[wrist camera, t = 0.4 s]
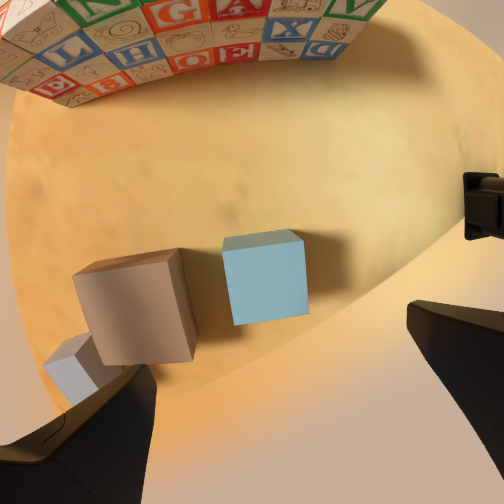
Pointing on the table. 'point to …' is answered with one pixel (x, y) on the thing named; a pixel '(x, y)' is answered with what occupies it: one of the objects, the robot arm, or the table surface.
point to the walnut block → (138, 309)
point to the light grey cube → (79, 368)
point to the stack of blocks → (160, 39)
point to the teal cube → (265, 276)
